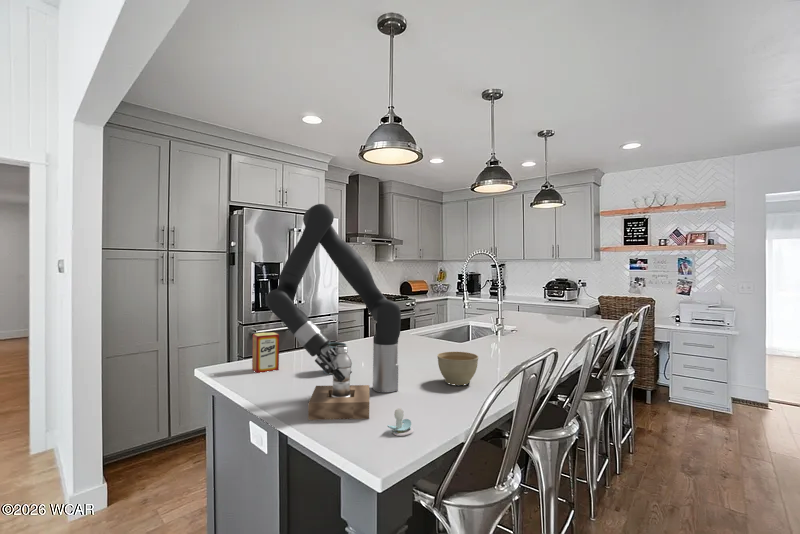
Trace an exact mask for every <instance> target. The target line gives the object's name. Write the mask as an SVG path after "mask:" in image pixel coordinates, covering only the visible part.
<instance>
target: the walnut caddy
mask: <svg viewBox="0 0 800 534" xmlns="http://www.w3.org/2000/svg"><path fill="white" fill-rule="evenodd" d="M332 389H333V385H315V388H314V389H313V391H312V395H310V399H309V401H308V404H307V405H308V411H307V414H308V415H307V420H308V421H319V420H320V421H321V420H326V421H328V420H329V421H330V420H331V421H332V420H370V385H369V384H365V385H364V384H362V385H361V384H359V385H358V384H355V385H353V384H352V385H350V395H351V397H331V395H332Z"/></svg>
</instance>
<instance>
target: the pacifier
mask: <svg viewBox="0 0 800 534" xmlns="http://www.w3.org/2000/svg"><path fill="white" fill-rule="evenodd" d="M404 416H405V413H404V410H403V409H402V408H396V409H395V411H394V418H395V425H389V424H388V425H387V426H386V427H387V428H389V429H390V430H393V433H392V434H393V435H394V436H397V437H405V436H408V435H411V434H413V432H414V428H413V427H411V426H412V420H410V419H408V418H405V417H404ZM404 418H405V419H404ZM407 430H409V431H407Z"/></svg>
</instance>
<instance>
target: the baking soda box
mask: <svg viewBox="0 0 800 534" xmlns="http://www.w3.org/2000/svg"><path fill="white" fill-rule="evenodd" d="M251 358H252V362H251V365H252V366H251V367H252V369H251V370H252V371H253V372H254V371H255V372H256V373H255V372H254V373H255V374H260V372H262V373H268V372H267V371H269V372H274V371H273V370H276V371H279V370H280V369H279V368H280V365H279V364H280V363H279V362H280V334H279V333H277V332H258V333H252V357H251Z"/></svg>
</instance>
